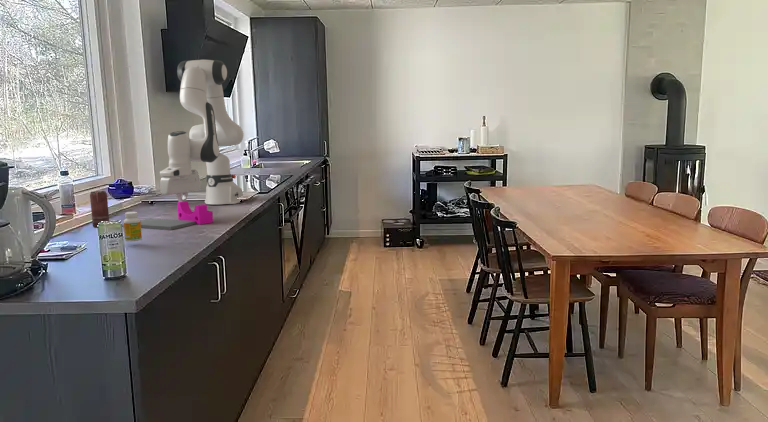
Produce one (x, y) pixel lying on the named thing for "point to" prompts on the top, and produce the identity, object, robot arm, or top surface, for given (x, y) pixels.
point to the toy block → (194, 213)
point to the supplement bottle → (132, 227)
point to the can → (99, 207)
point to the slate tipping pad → (165, 223)
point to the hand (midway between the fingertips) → (182, 203)
